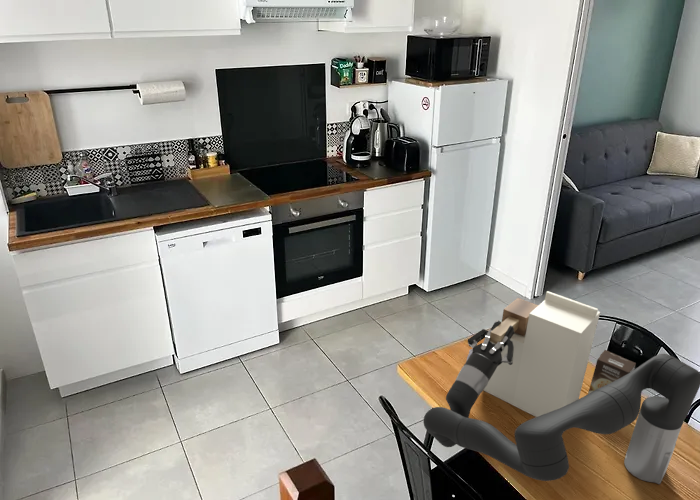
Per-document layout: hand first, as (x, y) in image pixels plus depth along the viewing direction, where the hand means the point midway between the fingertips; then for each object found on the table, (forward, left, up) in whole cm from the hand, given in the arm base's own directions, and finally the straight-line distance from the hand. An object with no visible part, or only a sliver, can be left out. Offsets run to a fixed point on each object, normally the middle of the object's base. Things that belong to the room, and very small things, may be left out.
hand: (505, 325), depth 150 cm
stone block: (+12, -13, -28) cm, 33 cm away
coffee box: (-25, -21, -27) cm, 43 cm away
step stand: (-7, -9, -27) cm, 30 cm away
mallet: (0, -4, -5) cm, 6 cm away
